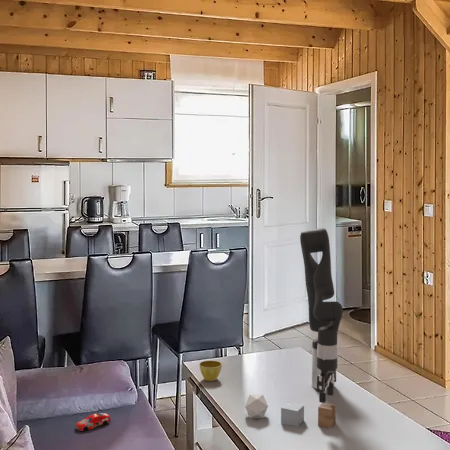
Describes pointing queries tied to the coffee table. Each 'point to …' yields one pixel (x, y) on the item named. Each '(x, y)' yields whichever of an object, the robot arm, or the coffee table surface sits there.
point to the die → (256, 406)
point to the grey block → (292, 414)
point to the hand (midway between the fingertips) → (326, 398)
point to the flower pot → (210, 369)
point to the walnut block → (326, 415)
